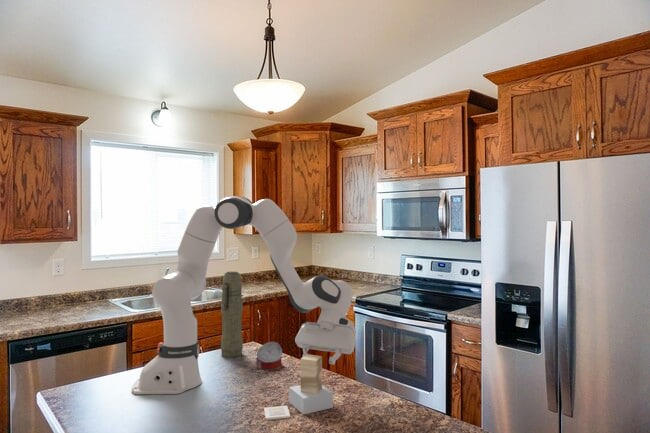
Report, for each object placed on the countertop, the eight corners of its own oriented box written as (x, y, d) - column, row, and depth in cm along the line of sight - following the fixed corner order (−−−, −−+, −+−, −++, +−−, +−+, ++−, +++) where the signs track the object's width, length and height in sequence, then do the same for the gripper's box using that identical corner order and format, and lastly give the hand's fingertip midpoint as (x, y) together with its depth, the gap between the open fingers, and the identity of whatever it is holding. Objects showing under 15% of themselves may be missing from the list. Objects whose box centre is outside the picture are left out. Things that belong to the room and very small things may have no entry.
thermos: (247, 351, 191) (247, 270, 192) (234, 360, 180) (235, 274, 180) (229, 350, 194) (229, 270, 194) (215, 358, 182) (215, 273, 183)
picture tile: (266, 420, 126) (266, 417, 126) (263, 409, 133) (263, 407, 133) (290, 417, 127) (290, 414, 127) (287, 407, 134) (287, 405, 134)
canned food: (281, 376, 175) (292, 355, 173) (263, 380, 167) (273, 358, 165) (265, 357, 182) (275, 337, 180) (246, 360, 174) (256, 339, 172)
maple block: (315, 394, 133) (315, 360, 133) (300, 391, 135) (300, 358, 135) (321, 388, 137) (321, 356, 138) (307, 385, 139) (307, 354, 139)
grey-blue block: (303, 415, 130) (303, 398, 130) (289, 403, 138) (289, 387, 138) (332, 408, 134) (332, 392, 134) (317, 397, 143) (317, 381, 143)
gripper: (300, 316, 152) (285, 352, 143) (355, 321, 143) (344, 360, 134) (306, 326, 156) (292, 362, 147) (360, 332, 147) (349, 370, 138)
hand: (317, 361), depth 140 cm, fingers open, 8 cm apart
